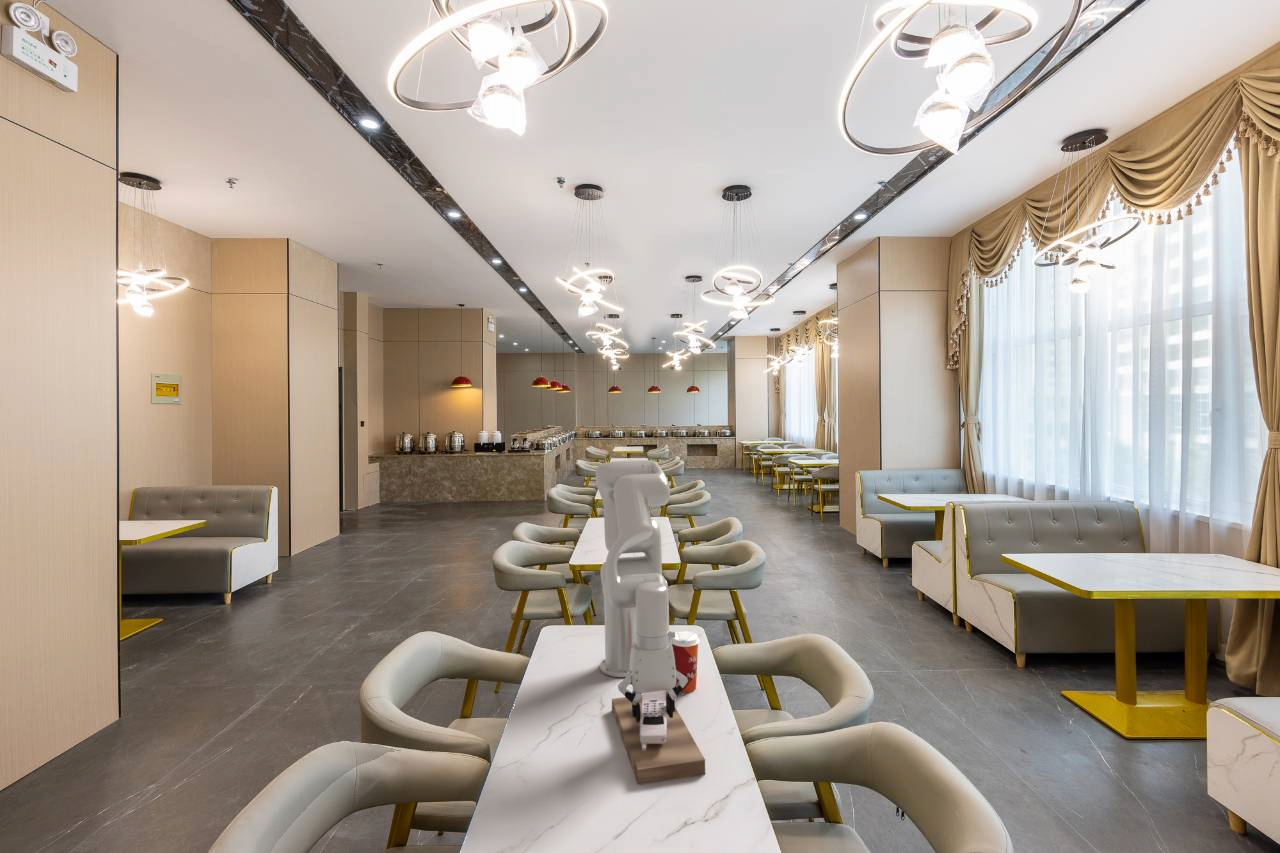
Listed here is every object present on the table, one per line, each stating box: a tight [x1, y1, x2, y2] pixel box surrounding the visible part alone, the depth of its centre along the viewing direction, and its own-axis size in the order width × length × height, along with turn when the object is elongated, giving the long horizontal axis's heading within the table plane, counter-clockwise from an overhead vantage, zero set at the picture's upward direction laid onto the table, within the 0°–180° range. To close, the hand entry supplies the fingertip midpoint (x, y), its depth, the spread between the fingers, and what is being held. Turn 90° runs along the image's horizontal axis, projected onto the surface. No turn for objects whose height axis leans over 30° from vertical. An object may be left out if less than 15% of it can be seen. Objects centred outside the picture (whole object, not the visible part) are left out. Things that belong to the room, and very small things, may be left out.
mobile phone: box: [640, 690, 667, 751], centre depth 138 cm, size 6×6×25 cm
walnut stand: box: [611, 691, 706, 785], centre depth 137 cm, size 30×14×3 cm, turn 13°
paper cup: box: [670, 630, 700, 694], centre depth 162 cm, size 8×8×14 cm
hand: (653, 716), depth 137 cm, fingers closed on mobile phone, 6 cm apart
